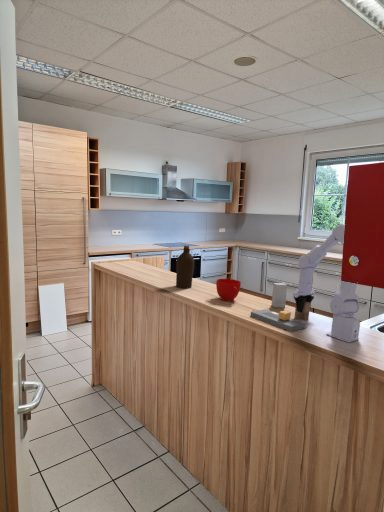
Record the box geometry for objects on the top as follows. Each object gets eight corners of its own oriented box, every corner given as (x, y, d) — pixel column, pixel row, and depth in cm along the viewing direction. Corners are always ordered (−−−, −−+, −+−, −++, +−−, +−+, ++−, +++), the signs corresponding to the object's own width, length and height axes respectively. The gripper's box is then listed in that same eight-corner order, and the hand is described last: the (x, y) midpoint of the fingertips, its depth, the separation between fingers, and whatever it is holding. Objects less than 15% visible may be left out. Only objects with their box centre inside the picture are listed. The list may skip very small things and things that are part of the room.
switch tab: (290, 319, 141) (290, 312, 140) (284, 320, 138) (285, 313, 138) (284, 317, 143) (285, 310, 143) (278, 318, 141) (279, 311, 140)
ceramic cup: (222, 304, 165) (224, 285, 164) (211, 296, 181) (213, 278, 180) (246, 304, 169) (248, 285, 167) (233, 296, 185) (235, 278, 184)
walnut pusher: (308, 319, 150) (310, 302, 149) (303, 320, 148) (305, 303, 147) (298, 316, 154) (300, 299, 153) (294, 317, 152) (296, 300, 151)
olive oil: (190, 289, 194) (193, 247, 191) (173, 287, 196) (175, 245, 193) (193, 286, 204) (196, 245, 201) (177, 284, 206) (179, 244, 203)
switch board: (305, 327, 138) (306, 323, 138) (291, 331, 132) (291, 326, 132) (265, 313, 155) (265, 309, 155) (250, 316, 149) (250, 311, 149)
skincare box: (282, 305, 172) (284, 283, 170) (285, 308, 167) (287, 284, 166) (270, 305, 171) (273, 282, 169) (273, 307, 166) (276, 284, 165)
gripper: (307, 279, 157) (303, 307, 158) (288, 281, 148) (285, 310, 150) (320, 282, 151) (317, 311, 153) (301, 284, 142) (298, 315, 144)
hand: (302, 311), depth 151 cm, fingers closed on walnut pusher, 3 cm apart
